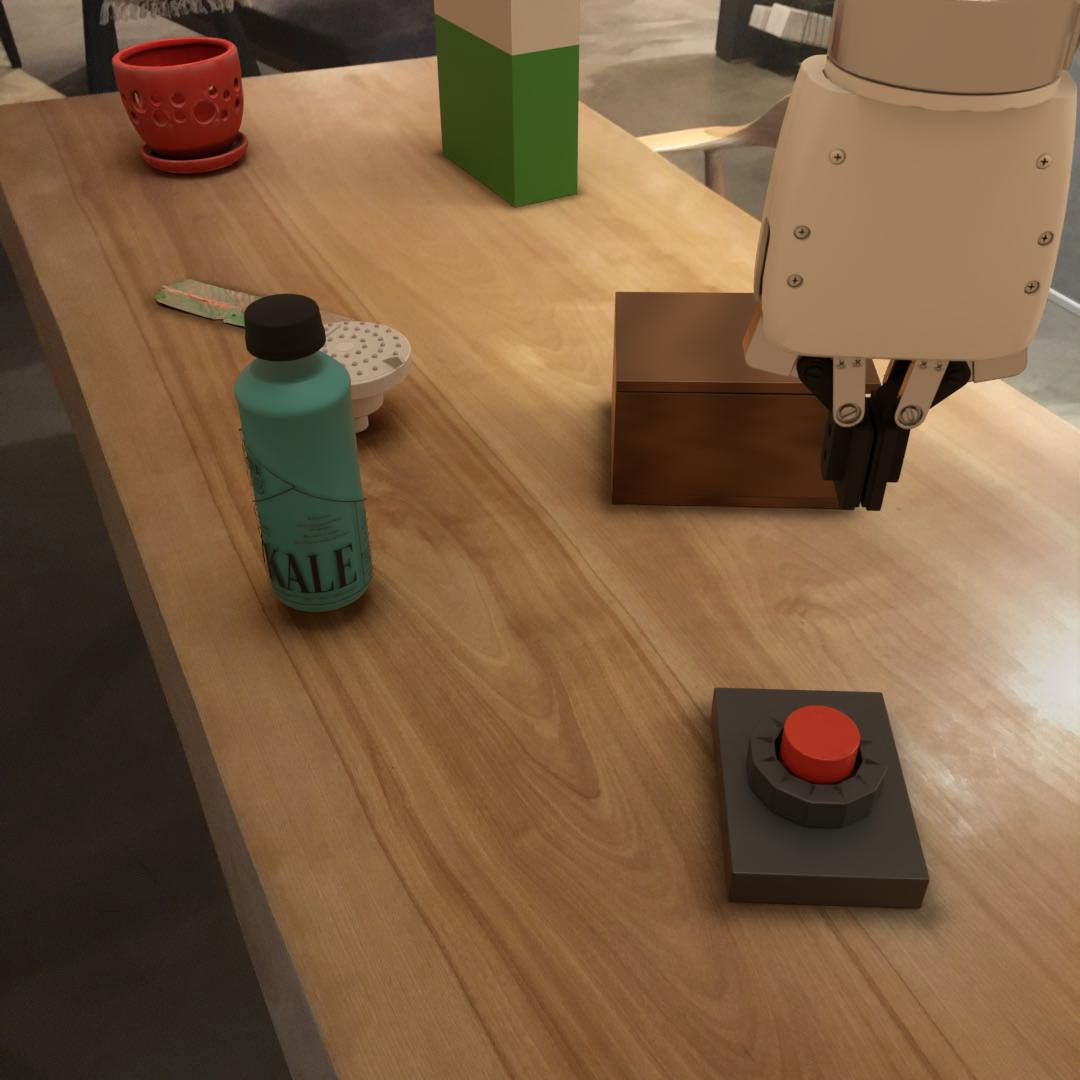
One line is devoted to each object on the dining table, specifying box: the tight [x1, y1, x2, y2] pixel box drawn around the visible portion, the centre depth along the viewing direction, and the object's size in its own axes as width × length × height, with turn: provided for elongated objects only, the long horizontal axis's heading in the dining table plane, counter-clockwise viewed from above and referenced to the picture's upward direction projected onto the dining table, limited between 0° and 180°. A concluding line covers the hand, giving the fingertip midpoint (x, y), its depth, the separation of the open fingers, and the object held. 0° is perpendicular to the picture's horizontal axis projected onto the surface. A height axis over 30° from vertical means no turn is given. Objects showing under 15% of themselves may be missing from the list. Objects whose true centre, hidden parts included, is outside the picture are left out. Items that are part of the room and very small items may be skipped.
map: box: [154, 278, 357, 327], centre depth 103 cm, size 5×20×1 cm, turn 63°
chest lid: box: [614, 291, 882, 395], centre depth 79 cm, size 17×13×1 cm
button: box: [780, 705, 860, 784], centre depth 57 cm, size 4×4×2 cm
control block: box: [710, 687, 931, 909], centre depth 59 cm, size 12×9×4 cm
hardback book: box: [433, 0, 581, 208], centre depth 121 cm, size 18×7×24 cm, turn 29°
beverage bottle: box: [233, 293, 376, 613], centre depth 67 cm, size 6×7×20 cm
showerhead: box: [319, 320, 412, 434], centre depth 86 cm, size 9×7×10 cm
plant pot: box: [111, 36, 249, 175], centre depth 129 cm, size 13×13×12 cm
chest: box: [610, 318, 840, 509], centre depth 82 cm, size 16×13×9 cm
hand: (854, 490), depth 50 cm, fingers closed
